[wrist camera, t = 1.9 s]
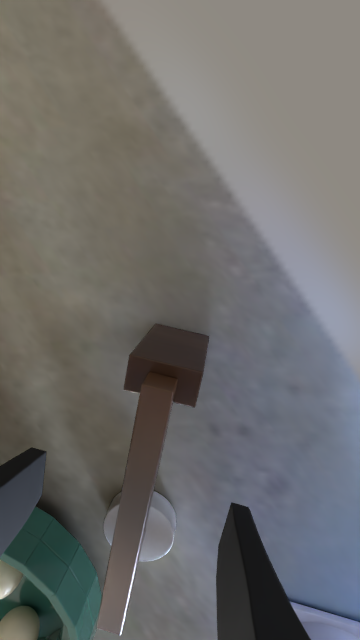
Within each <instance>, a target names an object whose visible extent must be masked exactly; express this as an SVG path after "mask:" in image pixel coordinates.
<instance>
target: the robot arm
mask: <svg viewBox="0 0 360 640" xmlns="http://www.w3.org/2000/svg"><path fill="white" fill-rule="evenodd" d="M45 461H46V451H42V450H39V449H35V448H30V449H28V450H27V451H25V452H23V453H21V454H20V455H18V456H16V457H15V458H13V459H11V460H10V461H8V462H6V463H4V464H3V465H1V466H0V557H1V555H2V554H3V553H4V551H5V550H6V549H7V547H8V546H9V545H10V543H11V542H12V541H13V539H14V538H15V536H16V535H17V534H18V532H19V531H20V530H21V528H22V527H23V525H24V524H25V523H26V521H27V519H28V518H29V516H30V514H31V513H32V511H33V509H34V508H35V506H36V504H37V502H38V501H39V499H40V497H41V495H42V489H43V480H44V470H45ZM216 590H217V631H218V640H360V622H357V621H354V620H351V619H347V618H344V617H341V616H337V615H334V614H331V613H327V612H324V611H320V610H317V609H314V608H310V607H307V606H304V605H300V604H297V603H294V602H290V601H289V599H288V597H287V595H286V593H285V591H284V589H283V587H282V585H281V583H280V581H279V579H278V577H277V575H276V573H275V571H274V568H273V566H272V564H271V562H270V559H269V557H268V555H267V553H266V550H265V548H264V546H263V543H262V541H261V538H260V536H259V533H258V531H257V528H256V525H255V523H254V520H253V517H252V514H251V511H250V509H249V508H248V507H246V506H242V505H239V504H235V503H231V506H230V509H229V513H228V516H227V519H226V523H225V526H224V529H223V533H222V536H221V539H220V543H219V547H218V560H217V575H216Z"/></svg>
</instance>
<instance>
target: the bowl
mask: <svg viewBox="0 0 360 640" xmlns="http://www.w3.org/2000/svg"><path fill="white" fill-rule="evenodd" d="M0 560H2V561H3V562H5V563H7V564H8V565H10V566H12V567H13V568H15V569H17V570H19V571H20V572H21V573H22V574H23V576H22V579H21V581H20V583H19V584H18V586H17V587H16V588H15V590H14V591H13V592H12V593H10V594H9V595H8V596H6V597H5V598H3V599H0V621H1V619H2V618H3V617H4V616H5V615H6V614H7V613H8V612H9V611H10V610H12V609H14V608H16V607H18V606H29V607H31V608H33V609H34V610H35V612H36V613H37V615H38V617H39V622H40V629H39V635H38V638H37V640H93V639H94V636H95V633H96V630H97V621H98V615H99V610H100V605H101V599H102V595H101V590H100V585H99V581H98V576H97V572H96V570H95V568H94V566H93V564H92V563H91V561H90V559H89V558H88V556H87V554H86V553H85V551H84V549H83V547H82V546H81V544H80V543H79V542H78V541H77V540H76V539H75V538H74V537H73V536H72V535H71V534H70V533H69V532H68V531H67V530H66V529H65V528H64V527H63V526H62V525H61V524H60V523H59V522H58V521H57V520H56V519H55V518H54V517H53V516H51V515H49V514H48V513H46V512H44V511H42V510H41V509H39V508H37V507H36V506H35V508H34V509H33V511H32V513H31V514H30V516H29V518H28V519H27V521H26V523H25V524H24V525H23V527H22V528H21V530H20V531H19V532H18V534H17V535H16V536H15V538H14V539H13V541H12V542H11V543H10V545H9V546H8V547H7V549H6V550H5V551H4V553H3V554H2V555H1V557H0Z"/></svg>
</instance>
